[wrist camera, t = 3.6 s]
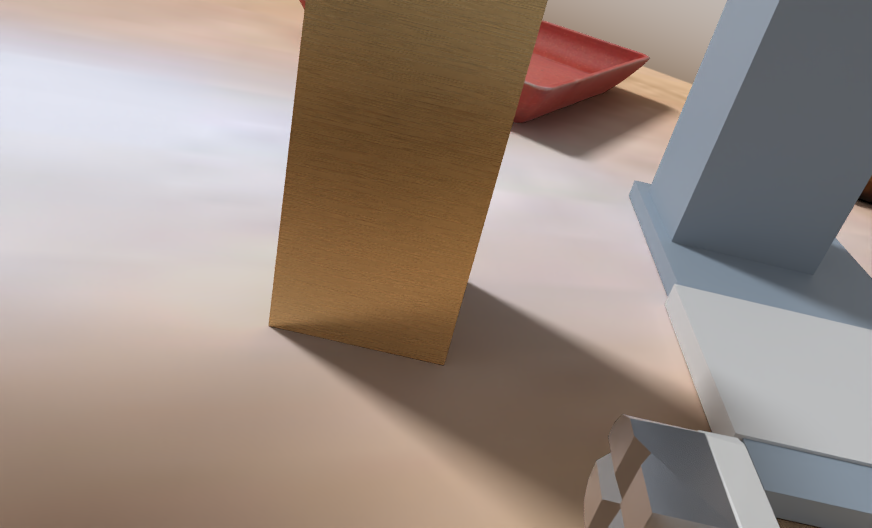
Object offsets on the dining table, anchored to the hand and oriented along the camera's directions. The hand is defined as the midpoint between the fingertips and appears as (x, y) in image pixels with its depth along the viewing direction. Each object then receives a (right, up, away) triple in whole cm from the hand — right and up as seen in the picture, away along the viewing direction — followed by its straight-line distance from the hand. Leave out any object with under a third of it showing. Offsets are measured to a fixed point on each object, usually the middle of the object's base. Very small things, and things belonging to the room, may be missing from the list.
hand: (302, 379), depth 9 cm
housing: (0, 0, +13) cm, 13 cm away
